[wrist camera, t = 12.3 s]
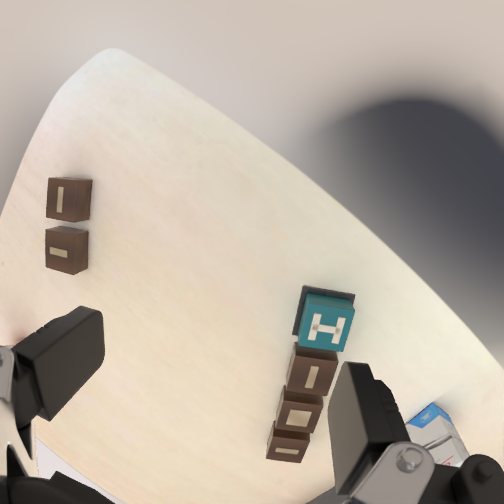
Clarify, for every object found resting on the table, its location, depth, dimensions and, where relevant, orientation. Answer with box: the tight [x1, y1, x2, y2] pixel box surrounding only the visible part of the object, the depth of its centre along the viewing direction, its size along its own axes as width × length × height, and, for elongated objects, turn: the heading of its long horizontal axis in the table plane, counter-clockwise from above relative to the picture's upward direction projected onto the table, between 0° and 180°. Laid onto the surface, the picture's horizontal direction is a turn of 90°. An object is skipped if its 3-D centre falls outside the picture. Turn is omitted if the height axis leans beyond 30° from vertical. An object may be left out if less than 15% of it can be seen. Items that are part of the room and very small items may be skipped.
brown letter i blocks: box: [45, 177, 92, 275], centre depth 32 cm, size 11×5×3 cm, turn 171°
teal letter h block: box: [298, 293, 355, 352], centre depth 31 cm, size 5×5×3 cm
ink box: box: [405, 403, 470, 467], centre depth 28 cm, size 9×5×15 cm, turn 139°
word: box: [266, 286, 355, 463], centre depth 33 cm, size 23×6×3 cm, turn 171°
